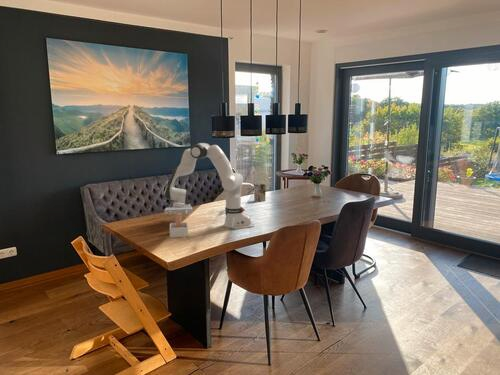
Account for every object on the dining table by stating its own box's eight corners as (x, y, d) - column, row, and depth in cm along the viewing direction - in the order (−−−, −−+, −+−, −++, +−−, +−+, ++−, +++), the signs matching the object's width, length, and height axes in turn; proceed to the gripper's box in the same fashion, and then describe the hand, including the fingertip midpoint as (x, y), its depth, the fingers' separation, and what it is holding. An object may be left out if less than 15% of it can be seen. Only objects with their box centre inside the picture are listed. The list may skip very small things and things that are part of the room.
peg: (181, 232, 268) (181, 213, 266) (181, 234, 264) (181, 214, 262) (176, 232, 268) (175, 213, 265) (176, 234, 264) (175, 214, 261)
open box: (187, 231, 273) (187, 222, 272) (187, 236, 261) (187, 227, 260) (170, 232, 271) (170, 223, 270) (170, 237, 259) (169, 228, 258)
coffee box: (261, 199, 370) (261, 183, 367) (265, 200, 365) (265, 184, 362) (253, 201, 365) (253, 184, 362) (258, 202, 360) (258, 185, 357)
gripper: (164, 205, 286) (163, 209, 273) (192, 203, 290) (192, 208, 276) (164, 213, 287) (163, 218, 274) (192, 212, 291) (192, 216, 277)
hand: (178, 213), depth 275 cm, fingers open, 8 cm apart
